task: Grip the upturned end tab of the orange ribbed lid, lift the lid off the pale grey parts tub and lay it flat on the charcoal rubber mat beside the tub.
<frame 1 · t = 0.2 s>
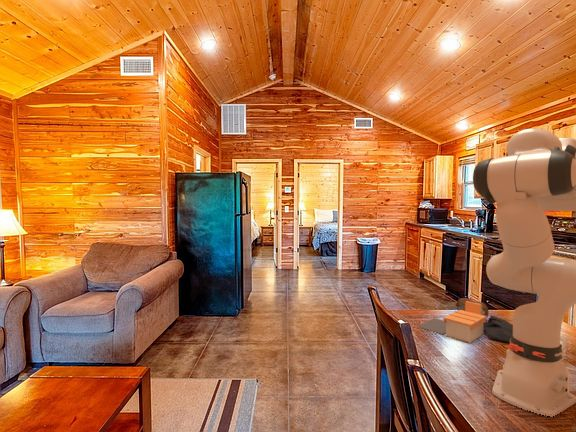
hand: (560, 223, 112), 48 cm above the table, tool pointing down, fingers open, 8 cm apart
lid: (464, 322, 131), point 5 cm above the table, touching tub
brown arch piece: (472, 317, 153), on the table
mat: (438, 326, 141), on the table
tub: (464, 335, 131), on the table
dark slate chunk: (501, 335, 133), on the table
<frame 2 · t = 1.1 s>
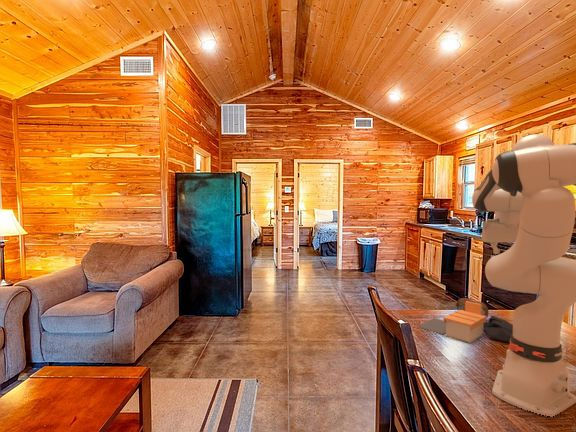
hand: (507, 253, 125), 35 cm above the table, tool pointing down, fingers open, 8 cm apart
nothing on the table moved.
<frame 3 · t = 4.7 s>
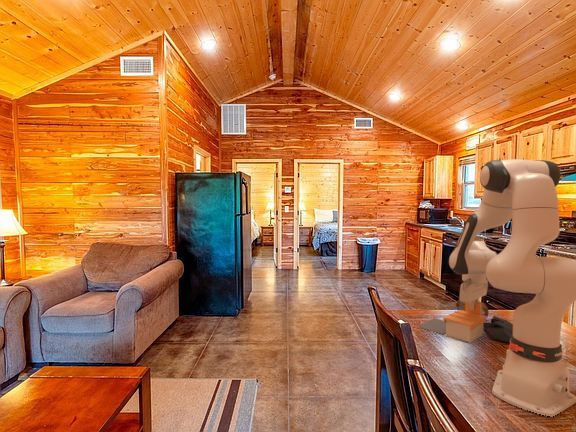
hand: (473, 308, 136), 9 cm above the table, tool pointing down, fingers closed on lid
lid: (464, 322, 131), point 6 cm above the table, touching gripper, tub
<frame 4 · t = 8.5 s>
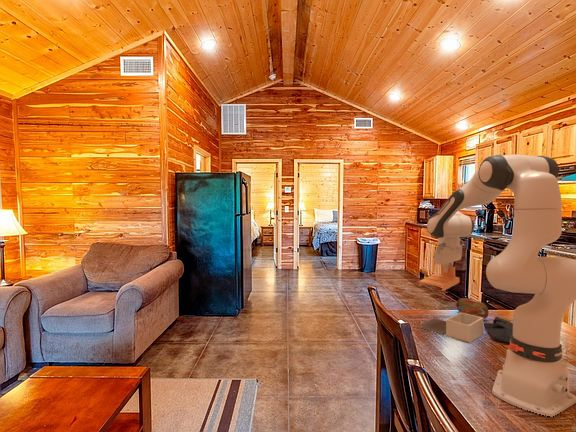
hand: (447, 271, 145), 24 cm above the table, tool pointing down, fingers closed on lid
lid: (439, 284, 140), point 19 cm above the table, touching gripper
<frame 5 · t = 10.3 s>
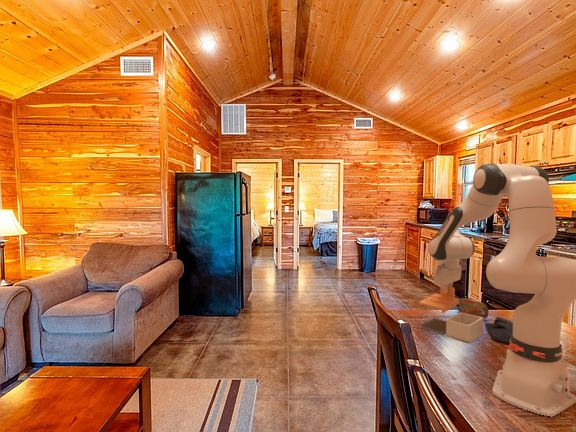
hand: (447, 292, 146), 14 cm above the table, tool pointing down, fingers closed on lid
lid: (438, 305, 141), point 9 cm above the table, touching gripper
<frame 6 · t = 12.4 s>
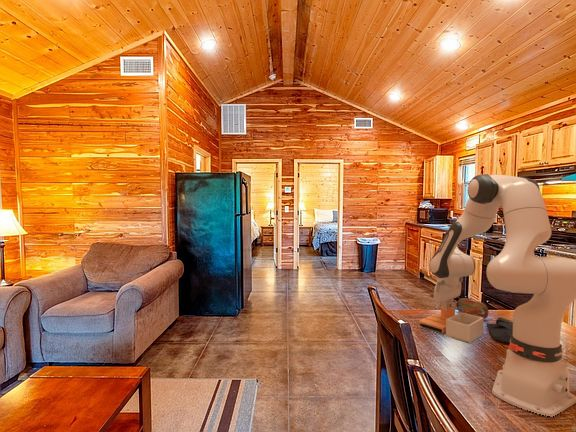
hand: (447, 308, 146), 6 cm above the table, tool pointing down, fingers open, 3 cm apart
lid: (439, 325, 141), resting on mat, touching gripper
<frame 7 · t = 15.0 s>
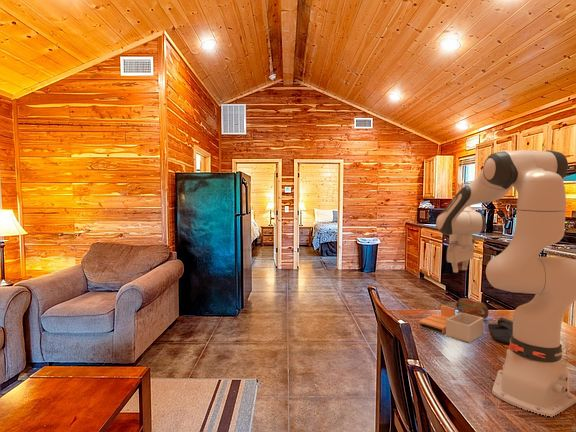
hand: (460, 271, 141), 25 cm above the table, tool pointing down, fingers open, 8 cm apart
lid: (439, 325, 141), resting on mat
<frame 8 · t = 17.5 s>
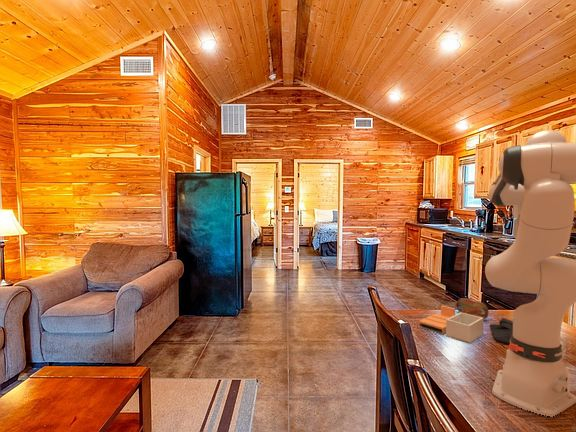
hand: (526, 248, 125), 37 cm above the table, tool pointing down, fingers open, 8 cm apart
at the end: lid inside the target area (0.7 cm from its centre), resting on mat; lid touching mat; the gripper is holding nothing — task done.
